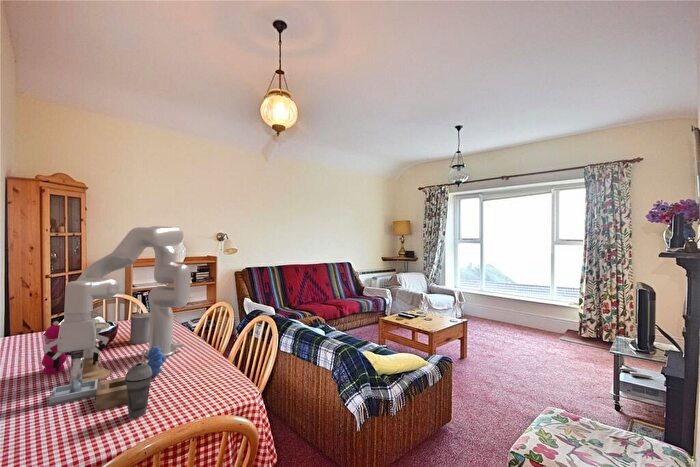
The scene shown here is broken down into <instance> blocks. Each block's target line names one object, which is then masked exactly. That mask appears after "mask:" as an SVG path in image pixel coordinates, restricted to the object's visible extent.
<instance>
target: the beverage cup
mask: <svg viewBox="0 0 700 467" xmlns="http://www.w3.org/2000/svg"><path fill="white" fill-rule="evenodd" d="M145 352H146V349H144V348H143V350H142V355H141V362H139V363H136V364H133V365H132V366H131V367H130V368H129V369H128V370H127V372H126V374H125V377H126V378H125V381H126V387H127V400H128V404H127V412H128V417H129V418H130V419H136V418H141V417H143V416H144V415H146V414H147V409H148V402H149V396H150V387H151V382H152V379H153V374H152V369H151V367H150V366H149V365H147V363H145V362H144V359H145Z"/></svg>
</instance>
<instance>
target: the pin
mask: <svg viewBox="0 0 700 467" xmlns="http://www.w3.org/2000/svg"><path fill="white" fill-rule="evenodd" d="M83 351H84V350H79V351H72V352H71V353H70V370H69V371H70V372H69V379H70V382H69V385H70V390H69V393H74V392H79V391H82V372H83V366H84V365H83V359H84V357H83Z"/></svg>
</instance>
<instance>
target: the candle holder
mask: <svg viewBox="0 0 700 467" xmlns="http://www.w3.org/2000/svg"><path fill="white" fill-rule="evenodd" d="M109 327H110V323H108V322H103V321H100V322H99V321H97V322H96V331H97V335H100V333H101V331H102V330H106V329H108V328H109ZM100 341H101V340H98V339H97V340H96V346H98V347H99V346H100V345H99V342H100ZM82 351H83V372H82V382H85V381H91V380H96V379H98V382H100V381H105V379H106V380H107V378H109V376H110V375H111V370H110V369H109V368H105V367H102V366H99V362H100V361H101V359H102V358H101V357H100V355H101V351H100V352H99V354H98V361H96V364H95V365H93V353H94V351H93V350H92V349H86V350H82ZM68 381H69V383H70V378H69V379H68Z"/></svg>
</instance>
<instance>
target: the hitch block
mask: <svg viewBox="0 0 700 467" xmlns="http://www.w3.org/2000/svg"><path fill="white" fill-rule="evenodd" d="M125 378H126V376H123V377H122V376H121V377H117V378H112V379H106V380H105V379H104V380H101V381H99V382H97V393H96V396H95V397H96V398H95V412H97V411H102V410H107V409H112V408H115V407H120V406H124V405H128V400H127V387H126V381H125Z"/></svg>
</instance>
